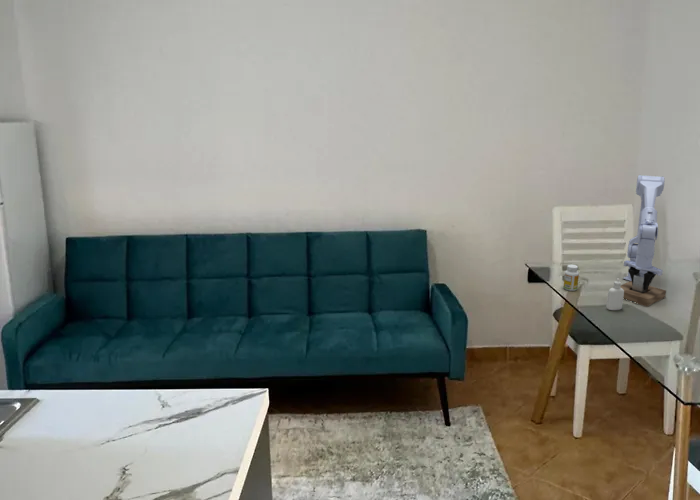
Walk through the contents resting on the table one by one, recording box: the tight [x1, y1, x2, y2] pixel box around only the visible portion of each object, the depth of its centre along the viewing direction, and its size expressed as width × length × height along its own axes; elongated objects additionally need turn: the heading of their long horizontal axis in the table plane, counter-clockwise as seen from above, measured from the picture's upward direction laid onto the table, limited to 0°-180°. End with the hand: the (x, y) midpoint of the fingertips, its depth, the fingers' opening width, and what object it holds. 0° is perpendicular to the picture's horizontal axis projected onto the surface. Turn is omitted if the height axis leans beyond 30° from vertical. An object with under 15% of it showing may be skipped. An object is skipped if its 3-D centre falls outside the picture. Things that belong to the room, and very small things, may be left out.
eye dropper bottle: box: [605, 278, 624, 311], centre depth 240 cm, size 4×6×12 cm
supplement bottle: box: [563, 264, 580, 292], centre depth 260 cm, size 5×5×10 cm
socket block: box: [620, 281, 667, 308], centre depth 252 cm, size 14×14×3 cm
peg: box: [632, 273, 647, 294], centre depth 251 cm, size 4×4×8 cm
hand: (639, 287), depth 251 cm, fingers closed on peg, 4 cm apart
